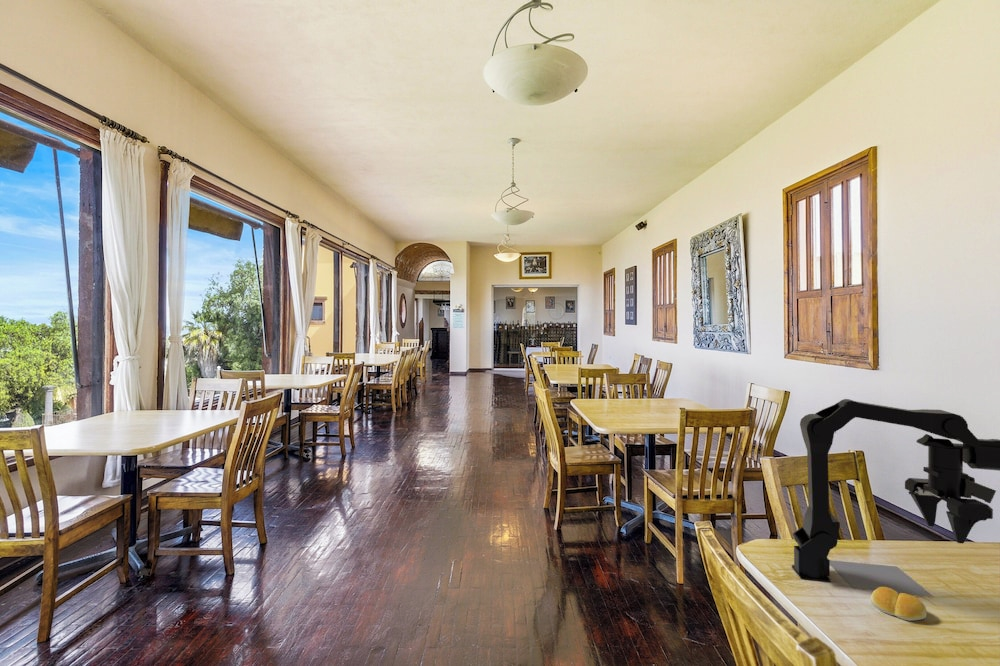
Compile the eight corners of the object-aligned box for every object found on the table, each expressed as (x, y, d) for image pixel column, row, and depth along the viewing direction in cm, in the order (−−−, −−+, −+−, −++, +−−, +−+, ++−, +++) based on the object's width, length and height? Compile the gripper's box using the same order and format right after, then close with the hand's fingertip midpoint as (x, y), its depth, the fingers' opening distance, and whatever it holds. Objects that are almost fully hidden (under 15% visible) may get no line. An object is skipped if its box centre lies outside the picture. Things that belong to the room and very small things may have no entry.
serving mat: (853, 589, 109) (853, 588, 109) (826, 560, 123) (826, 559, 123) (933, 597, 105) (933, 596, 105) (896, 567, 119) (896, 566, 119)
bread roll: (923, 627, 94) (921, 607, 94) (868, 609, 101) (866, 590, 101) (930, 611, 99) (929, 592, 99) (878, 594, 106) (876, 577, 106)
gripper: (1024, 481, 95) (1024, 557, 95) (956, 457, 114) (956, 521, 114) (960, 477, 98) (959, 551, 98) (903, 454, 116) (903, 517, 116)
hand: (944, 534), depth 106 cm, fingers open, 9 cm apart
